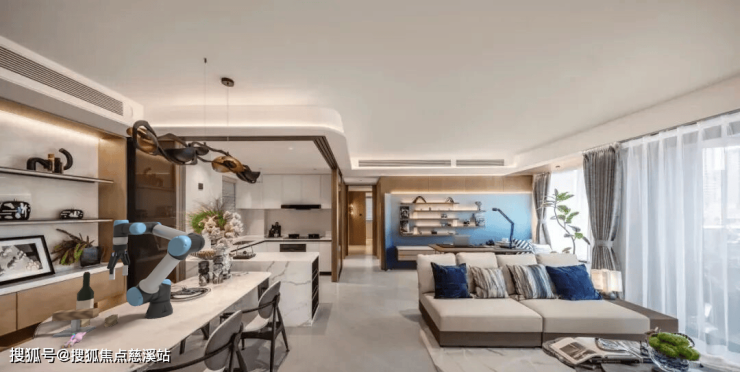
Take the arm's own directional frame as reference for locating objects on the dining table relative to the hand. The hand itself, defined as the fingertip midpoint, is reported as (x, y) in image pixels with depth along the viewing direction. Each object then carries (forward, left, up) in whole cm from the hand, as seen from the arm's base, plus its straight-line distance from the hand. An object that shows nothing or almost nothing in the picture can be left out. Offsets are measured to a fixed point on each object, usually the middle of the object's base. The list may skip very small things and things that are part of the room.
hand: (118, 277), depth 199 cm
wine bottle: (+23, -8, -27) cm, 36 cm away
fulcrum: (+11, +18, -27) cm, 34 cm away
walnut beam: (+11, +18, -19) cm, 28 cm away
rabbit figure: (0, +35, -27) cm, 44 cm away
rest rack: (+6, +8, -27) cm, 29 cm away
